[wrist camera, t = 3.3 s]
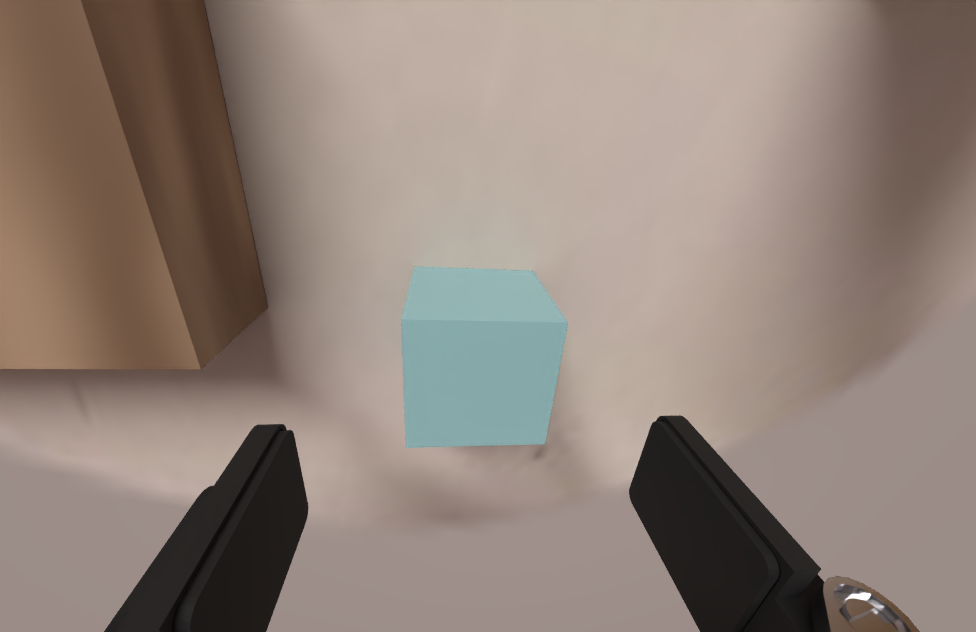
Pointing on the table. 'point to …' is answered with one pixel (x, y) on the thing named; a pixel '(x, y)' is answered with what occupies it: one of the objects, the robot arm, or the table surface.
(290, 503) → the robot arm
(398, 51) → the table surface
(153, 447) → the table surface
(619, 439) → the table surface
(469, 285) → the teal cube
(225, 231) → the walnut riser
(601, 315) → the table surface
